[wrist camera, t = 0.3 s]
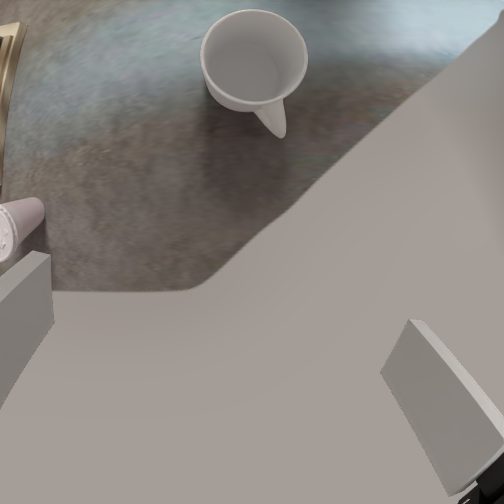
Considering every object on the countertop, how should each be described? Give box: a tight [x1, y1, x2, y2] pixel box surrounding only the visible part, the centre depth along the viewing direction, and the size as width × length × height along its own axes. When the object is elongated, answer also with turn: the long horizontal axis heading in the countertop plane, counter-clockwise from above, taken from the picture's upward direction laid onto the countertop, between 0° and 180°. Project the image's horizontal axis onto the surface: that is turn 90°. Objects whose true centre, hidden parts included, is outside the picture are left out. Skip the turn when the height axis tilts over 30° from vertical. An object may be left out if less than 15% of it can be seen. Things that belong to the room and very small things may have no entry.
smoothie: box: [0, 197, 45, 262], centre depth 28 cm, size 6×6×14 cm
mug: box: [200, 9, 308, 138], centre depth 27 cm, size 9×12×11 cm
